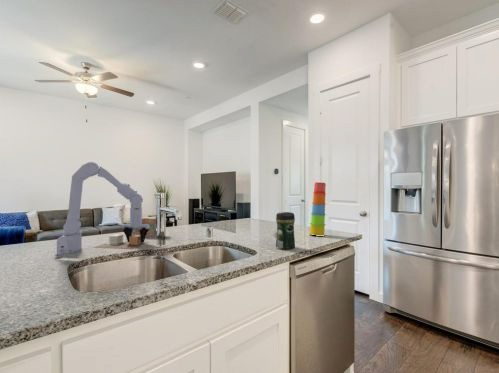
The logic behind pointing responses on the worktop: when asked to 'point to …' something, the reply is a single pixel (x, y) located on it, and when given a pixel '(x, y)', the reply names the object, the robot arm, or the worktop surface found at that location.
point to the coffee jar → (285, 230)
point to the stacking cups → (318, 209)
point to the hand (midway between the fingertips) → (135, 241)
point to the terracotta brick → (135, 239)
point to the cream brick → (115, 239)
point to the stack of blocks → (147, 221)
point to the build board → (121, 245)
